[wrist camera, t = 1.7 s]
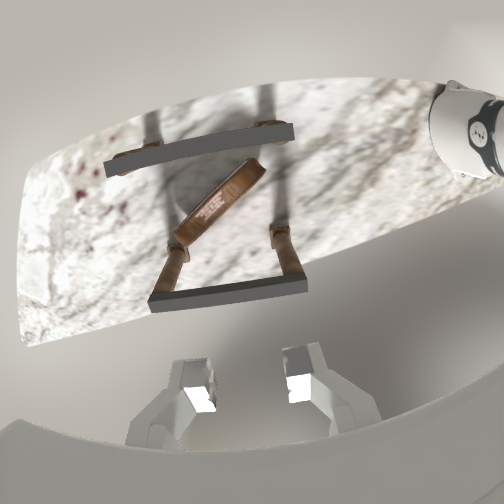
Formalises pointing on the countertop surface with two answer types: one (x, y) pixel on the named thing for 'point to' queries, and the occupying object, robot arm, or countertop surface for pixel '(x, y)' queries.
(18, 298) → the countertop surface
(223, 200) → the tin
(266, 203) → the countertop surface
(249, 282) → the dark grey beam
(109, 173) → the grey bar
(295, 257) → the wooden stanchion pair
